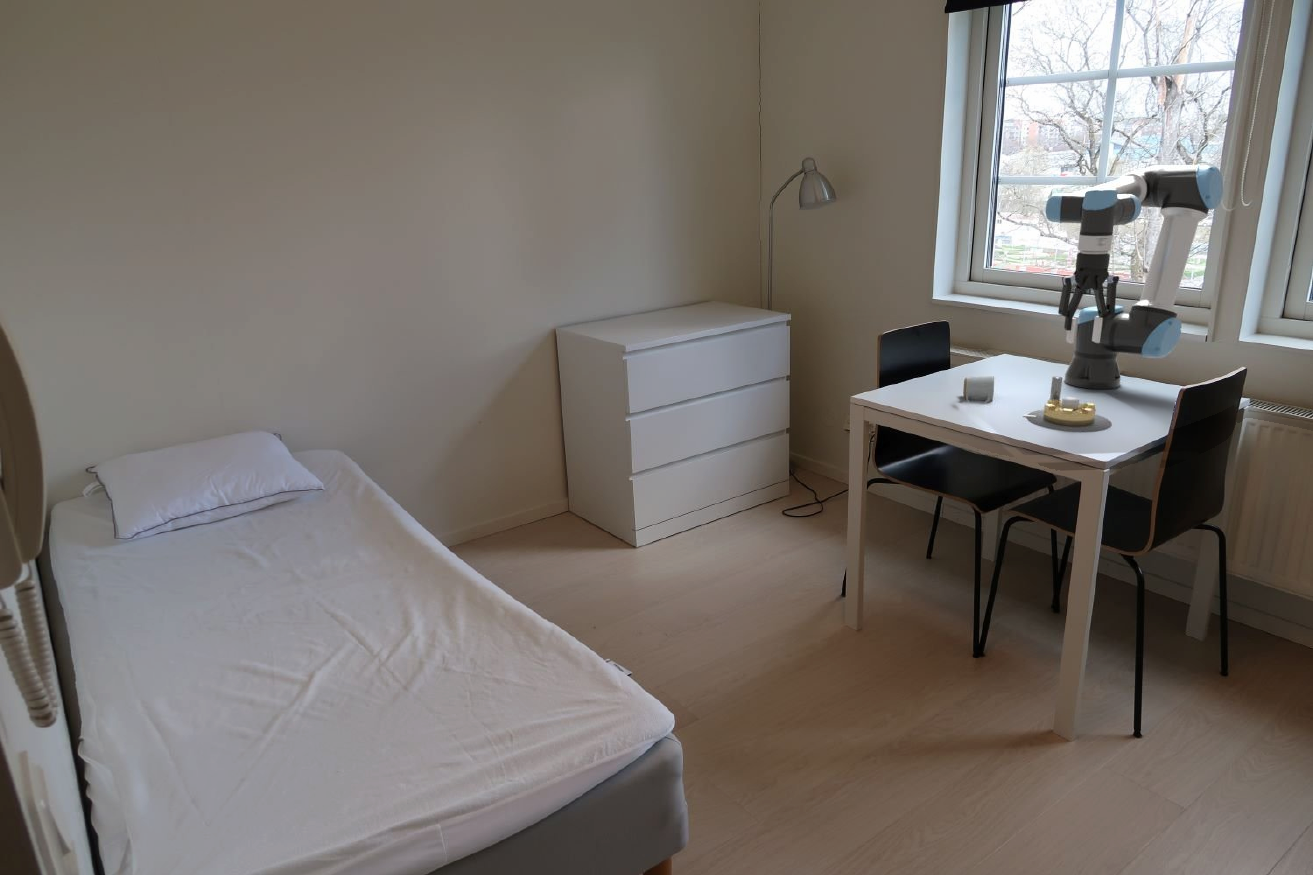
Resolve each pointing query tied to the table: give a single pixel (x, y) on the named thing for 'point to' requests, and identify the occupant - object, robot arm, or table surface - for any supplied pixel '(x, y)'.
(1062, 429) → the base
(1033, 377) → the table surface
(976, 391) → the ceramic mug
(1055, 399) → the gold crank wheel
